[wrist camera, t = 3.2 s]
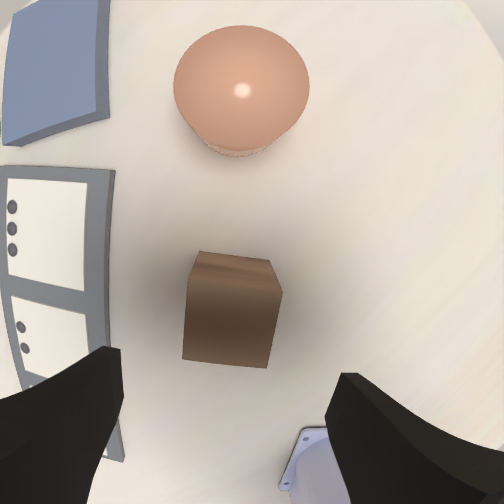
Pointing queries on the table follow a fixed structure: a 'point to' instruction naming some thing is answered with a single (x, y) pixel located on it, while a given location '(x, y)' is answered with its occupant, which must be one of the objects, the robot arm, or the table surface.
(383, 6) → the table surface
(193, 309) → the block
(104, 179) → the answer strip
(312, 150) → the table surface
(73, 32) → the slate blue flat block
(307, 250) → the table surface
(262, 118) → the peach dome-topped cylinder
